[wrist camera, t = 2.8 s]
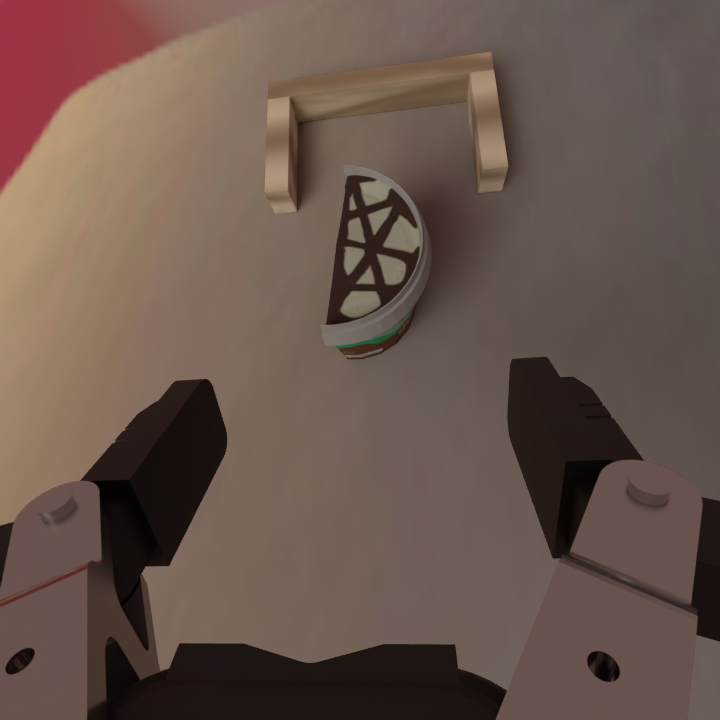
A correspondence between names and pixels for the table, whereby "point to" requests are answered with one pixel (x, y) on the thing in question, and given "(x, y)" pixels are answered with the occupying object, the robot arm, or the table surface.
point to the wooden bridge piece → (381, 94)
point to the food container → (375, 266)
